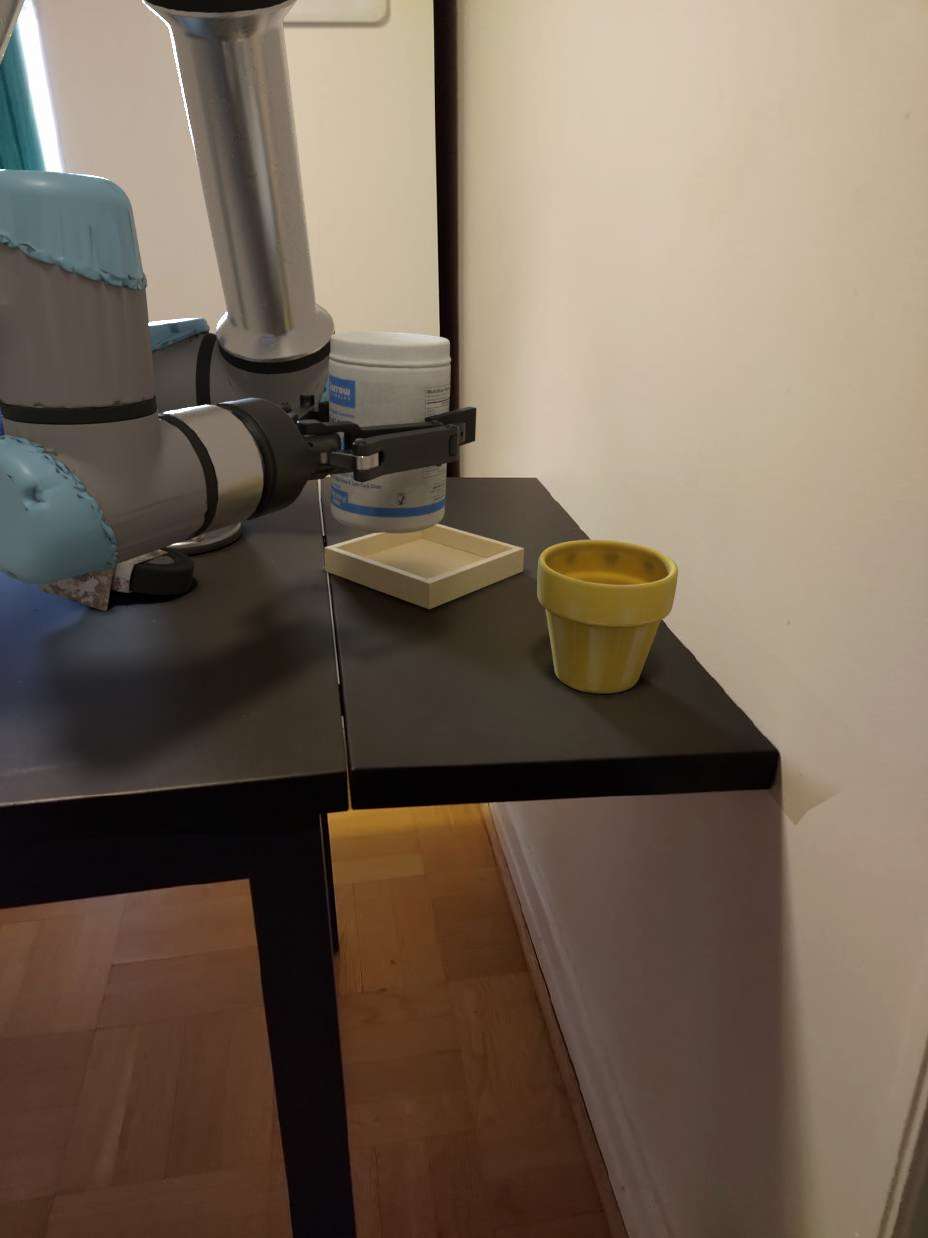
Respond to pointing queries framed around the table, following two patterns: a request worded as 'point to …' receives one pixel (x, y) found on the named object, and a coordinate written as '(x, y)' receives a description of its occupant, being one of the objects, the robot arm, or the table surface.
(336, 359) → the supplement tub
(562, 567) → the flower pot
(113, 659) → the table surface
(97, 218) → the robot arm
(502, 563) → the shallow tray
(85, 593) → the caster wheel
